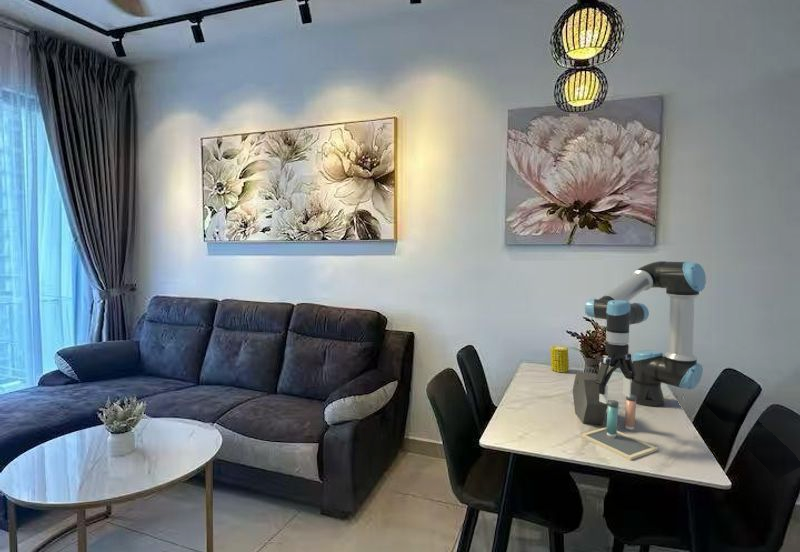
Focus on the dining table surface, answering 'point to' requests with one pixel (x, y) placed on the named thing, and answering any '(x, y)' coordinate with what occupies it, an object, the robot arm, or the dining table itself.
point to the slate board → (619, 443)
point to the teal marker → (612, 418)
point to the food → (559, 358)
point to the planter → (588, 399)
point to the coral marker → (630, 412)
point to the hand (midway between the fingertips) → (615, 399)
